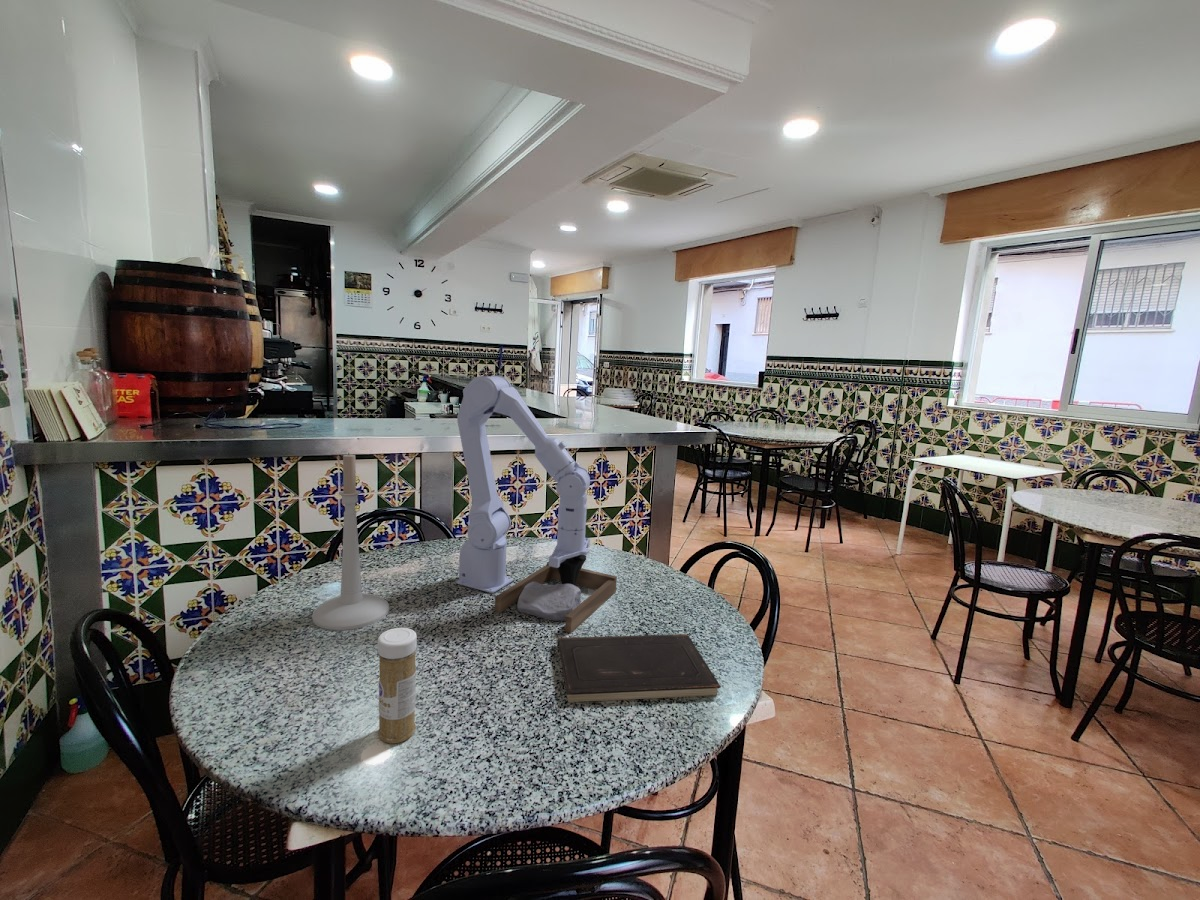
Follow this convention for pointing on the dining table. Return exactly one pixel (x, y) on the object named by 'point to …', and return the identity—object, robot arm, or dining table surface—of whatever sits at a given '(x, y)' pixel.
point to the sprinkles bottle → (397, 684)
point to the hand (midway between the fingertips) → (568, 589)
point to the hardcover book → (634, 668)
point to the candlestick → (350, 571)
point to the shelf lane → (586, 578)
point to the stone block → (549, 600)
